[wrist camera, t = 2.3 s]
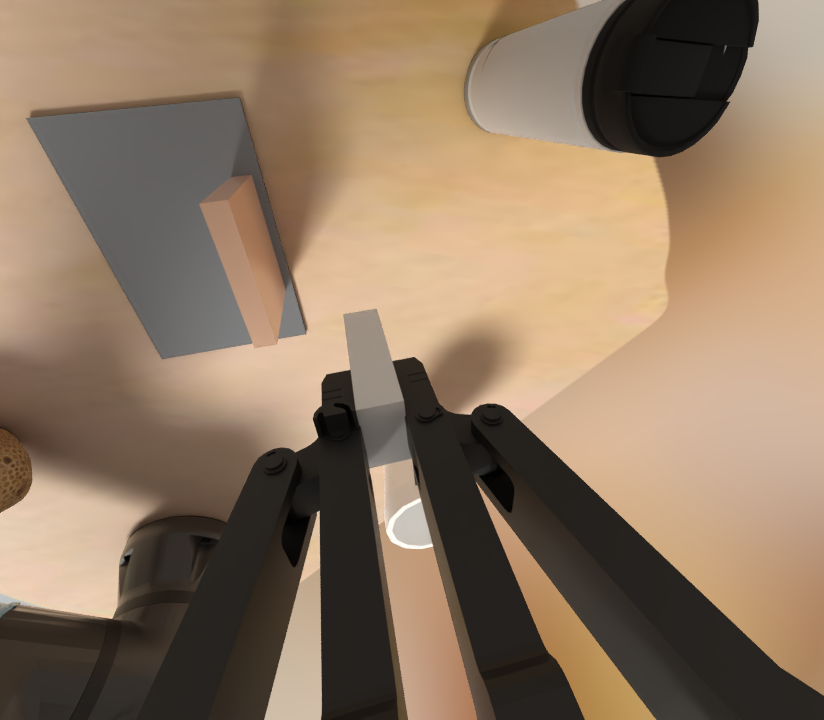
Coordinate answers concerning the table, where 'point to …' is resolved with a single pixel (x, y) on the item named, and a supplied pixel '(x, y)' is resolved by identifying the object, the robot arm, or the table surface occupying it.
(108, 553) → the table surface
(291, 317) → the felt mat
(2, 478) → the natural sponge
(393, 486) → the foam cup
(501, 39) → the travel mug
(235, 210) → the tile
